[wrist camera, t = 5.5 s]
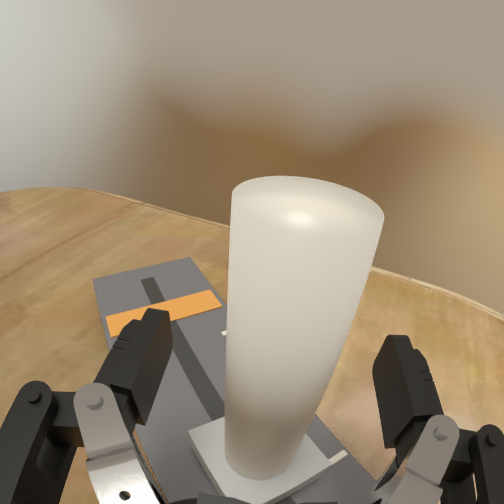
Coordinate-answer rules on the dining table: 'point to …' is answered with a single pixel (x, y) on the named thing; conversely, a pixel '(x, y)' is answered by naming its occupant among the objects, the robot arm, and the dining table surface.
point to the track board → (202, 382)
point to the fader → (284, 329)
